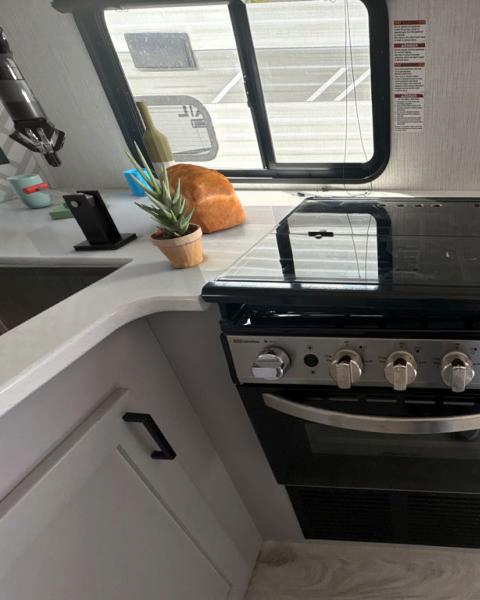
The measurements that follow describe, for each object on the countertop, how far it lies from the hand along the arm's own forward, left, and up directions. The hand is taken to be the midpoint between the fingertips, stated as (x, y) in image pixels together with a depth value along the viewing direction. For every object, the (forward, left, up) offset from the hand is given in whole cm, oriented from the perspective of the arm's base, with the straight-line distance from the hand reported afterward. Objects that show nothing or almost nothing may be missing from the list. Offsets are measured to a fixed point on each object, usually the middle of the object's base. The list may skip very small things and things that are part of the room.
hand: (57, 166), depth 100 cm
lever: (+10, -36, -3) cm, 38 cm away
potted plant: (+33, -61, -14) cm, 71 cm away
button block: (0, 0, -14) cm, 14 cm away
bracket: (+14, -38, -14) cm, 43 cm away
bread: (+37, -31, -14) cm, 50 cm away
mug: (+16, +16, -14) cm, 27 cm away
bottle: (+27, +4, -14) cm, 31 cm away
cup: (-15, +16, -14) cm, 26 cm away
